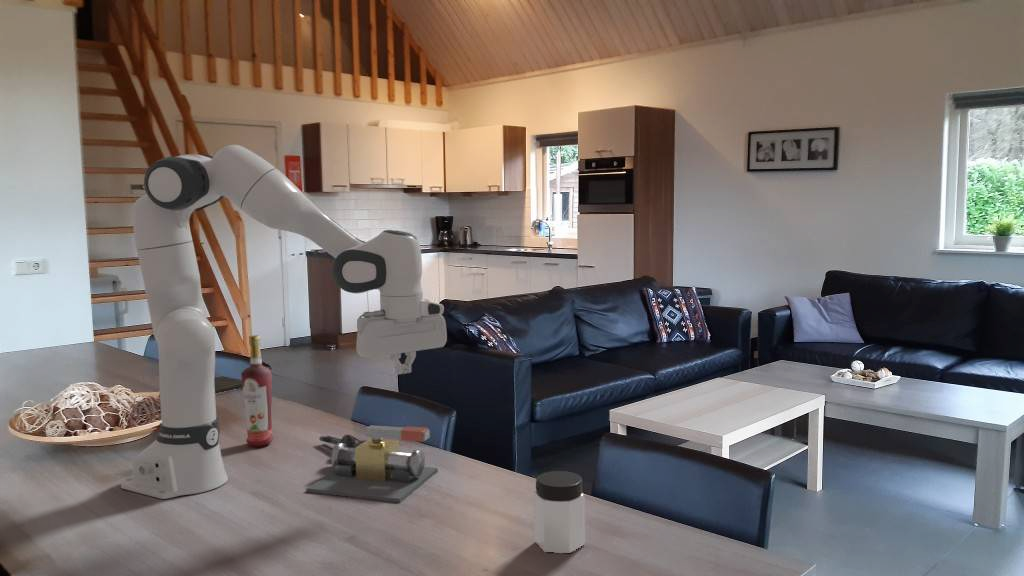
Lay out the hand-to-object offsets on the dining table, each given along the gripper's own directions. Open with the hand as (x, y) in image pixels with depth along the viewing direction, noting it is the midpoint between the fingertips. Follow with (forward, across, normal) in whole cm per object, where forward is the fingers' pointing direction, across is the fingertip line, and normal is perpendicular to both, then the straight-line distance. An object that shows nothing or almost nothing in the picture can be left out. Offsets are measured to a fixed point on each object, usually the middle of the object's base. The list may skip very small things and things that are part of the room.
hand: (403, 373), depth 163 cm
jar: (+25, +6, -42) cm, 49 cm away
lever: (+16, +1, +5) cm, 17 cm away
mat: (+25, -3, +8) cm, 26 cm away
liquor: (+25, -12, +51) cm, 58 cm away
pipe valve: (+25, -2, +9) cm, 27 cm away
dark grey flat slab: (+26, -3, +120) cm, 123 cm away
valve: (+25, +3, +28) cm, 37 cm away
